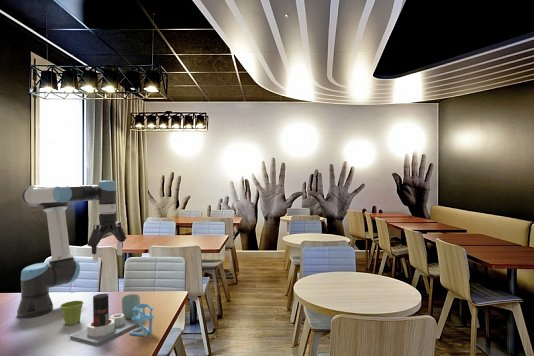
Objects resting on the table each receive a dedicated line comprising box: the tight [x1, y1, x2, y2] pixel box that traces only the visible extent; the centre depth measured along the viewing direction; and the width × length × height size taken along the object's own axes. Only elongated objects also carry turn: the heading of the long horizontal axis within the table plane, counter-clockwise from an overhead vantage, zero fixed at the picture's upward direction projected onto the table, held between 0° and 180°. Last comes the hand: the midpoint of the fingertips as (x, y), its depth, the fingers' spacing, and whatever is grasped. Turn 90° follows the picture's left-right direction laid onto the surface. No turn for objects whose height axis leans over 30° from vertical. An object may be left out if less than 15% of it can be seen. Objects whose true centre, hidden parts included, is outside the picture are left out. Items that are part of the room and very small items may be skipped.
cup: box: [121, 293, 141, 320], centre depth 168 cm, size 8×8×10 cm
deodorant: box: [92, 293, 110, 327], centre depth 151 cm, size 6×6×15 cm
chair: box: [128, 303, 155, 338], centre depth 151 cm, size 8×8×12 cm
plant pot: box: [59, 300, 84, 326], centre depth 164 cm, size 9×9×9 cm
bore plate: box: [69, 313, 140, 347], centre depth 153 cm, size 16×22×5 cm
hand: (108, 258), depth 168 cm, fingers open, 13 cm apart
